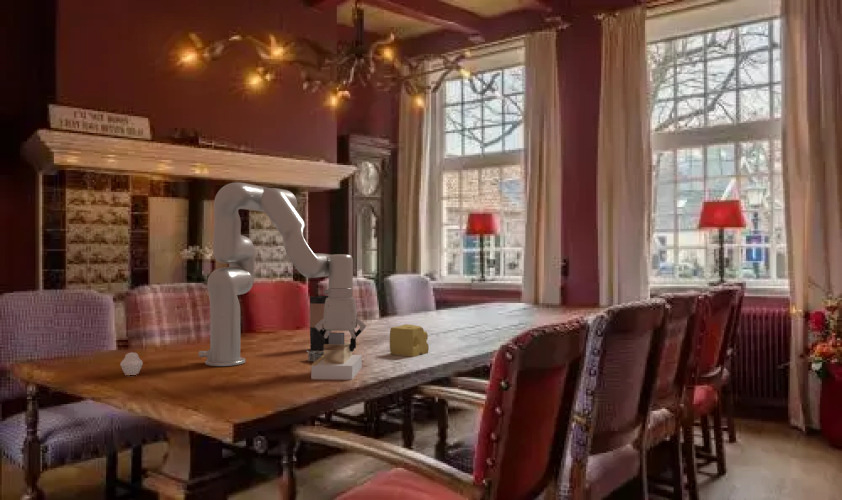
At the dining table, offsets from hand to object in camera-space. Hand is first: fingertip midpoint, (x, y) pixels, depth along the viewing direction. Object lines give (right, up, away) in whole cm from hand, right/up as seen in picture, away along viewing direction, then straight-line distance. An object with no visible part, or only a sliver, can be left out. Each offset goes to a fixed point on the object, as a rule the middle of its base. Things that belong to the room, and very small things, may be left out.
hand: (340, 350), depth 202 cm
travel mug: (-13, -6, +41) cm, 43 cm away
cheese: (+21, -6, +31) cm, 38 cm away
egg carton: (-8, -7, +16) cm, 19 cm away
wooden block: (0, -2, -4) cm, 4 cm away
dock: (0, -6, -5) cm, 8 cm away
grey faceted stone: (-61, -6, -9) cm, 63 cm away
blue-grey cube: (-1, +2, -5) cm, 5 cm away
